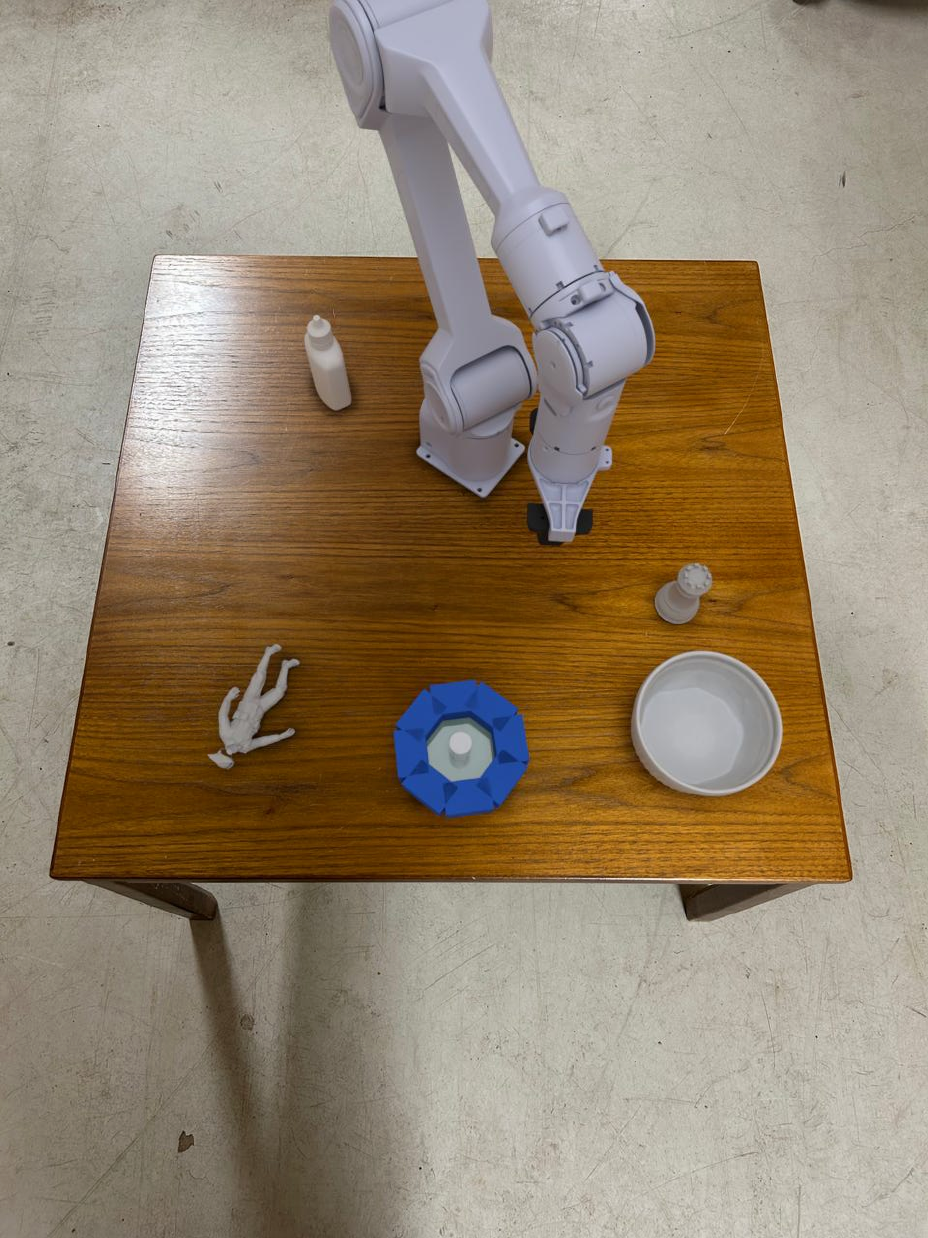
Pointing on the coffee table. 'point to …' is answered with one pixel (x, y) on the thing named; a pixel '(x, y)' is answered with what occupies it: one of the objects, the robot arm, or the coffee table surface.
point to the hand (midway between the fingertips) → (550, 505)
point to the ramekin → (706, 724)
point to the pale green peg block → (460, 749)
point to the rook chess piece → (683, 594)
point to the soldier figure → (251, 712)
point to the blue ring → (456, 705)
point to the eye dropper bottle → (327, 364)
